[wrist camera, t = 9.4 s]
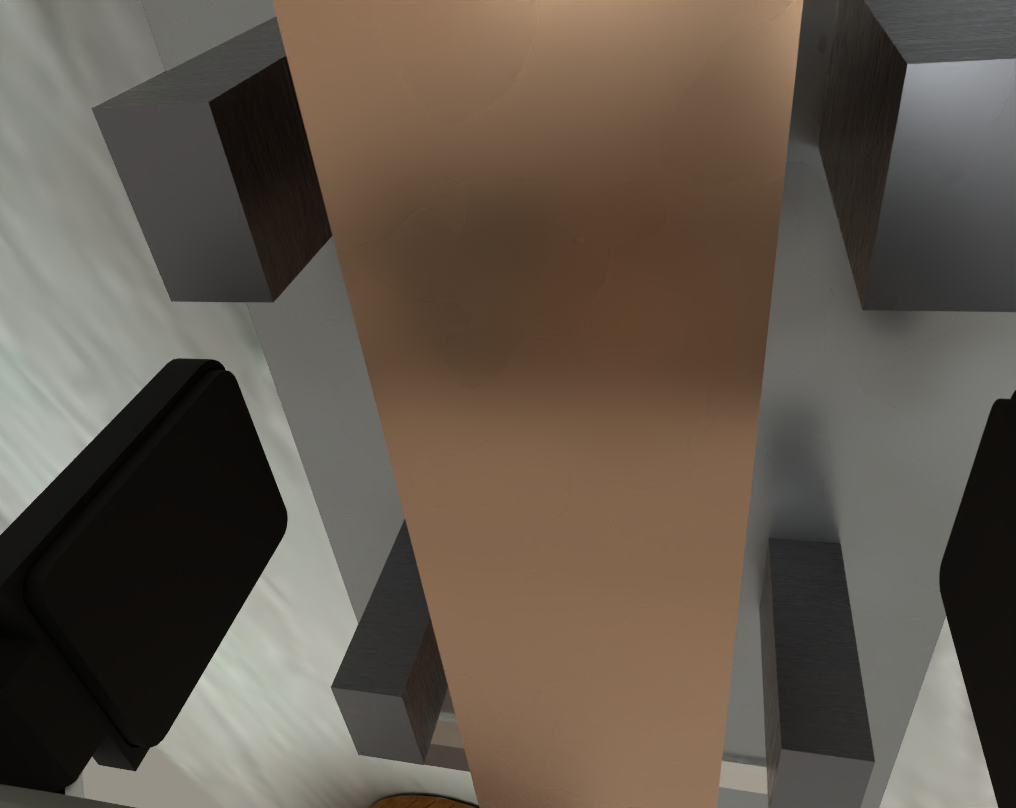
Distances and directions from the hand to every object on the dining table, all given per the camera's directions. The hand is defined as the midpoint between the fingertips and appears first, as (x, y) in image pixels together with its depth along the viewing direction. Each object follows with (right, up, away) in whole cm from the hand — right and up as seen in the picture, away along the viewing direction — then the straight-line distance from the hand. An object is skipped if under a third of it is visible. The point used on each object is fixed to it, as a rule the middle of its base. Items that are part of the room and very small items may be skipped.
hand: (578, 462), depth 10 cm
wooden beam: (+1, +2, +2) cm, 3 cm away
